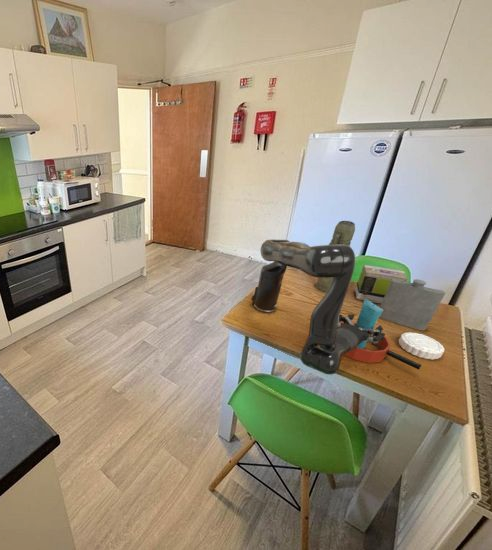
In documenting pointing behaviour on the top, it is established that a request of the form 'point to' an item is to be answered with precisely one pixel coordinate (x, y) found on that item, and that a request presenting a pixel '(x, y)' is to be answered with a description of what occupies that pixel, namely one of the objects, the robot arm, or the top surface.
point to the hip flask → (410, 303)
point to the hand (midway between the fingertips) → (365, 321)
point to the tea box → (376, 282)
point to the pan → (379, 354)
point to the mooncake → (421, 345)
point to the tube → (368, 318)
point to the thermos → (340, 237)
